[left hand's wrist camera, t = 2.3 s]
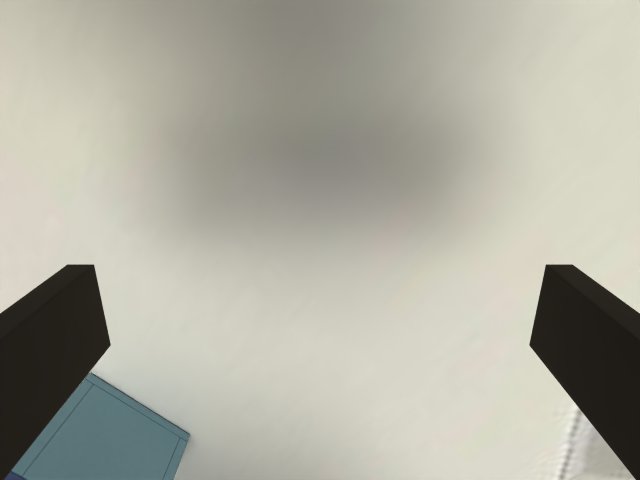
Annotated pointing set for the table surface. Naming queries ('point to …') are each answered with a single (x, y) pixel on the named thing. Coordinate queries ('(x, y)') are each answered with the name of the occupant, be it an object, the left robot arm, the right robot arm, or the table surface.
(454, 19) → the table surface
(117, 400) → the chest
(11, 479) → the lid
